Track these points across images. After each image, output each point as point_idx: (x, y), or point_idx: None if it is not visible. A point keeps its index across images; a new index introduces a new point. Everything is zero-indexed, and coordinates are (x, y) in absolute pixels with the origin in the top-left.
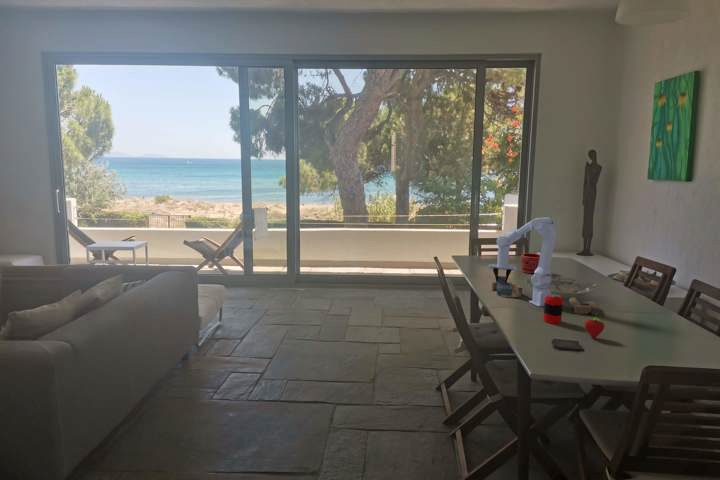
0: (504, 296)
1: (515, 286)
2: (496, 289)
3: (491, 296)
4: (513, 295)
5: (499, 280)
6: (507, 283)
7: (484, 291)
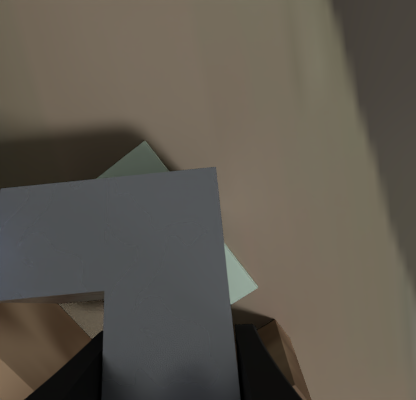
0: (127, 154)
1: (33, 377)
2: None
3: (254, 98)
4: None
5: (199, 338)
6: (63, 288)
7: (350, 266)
